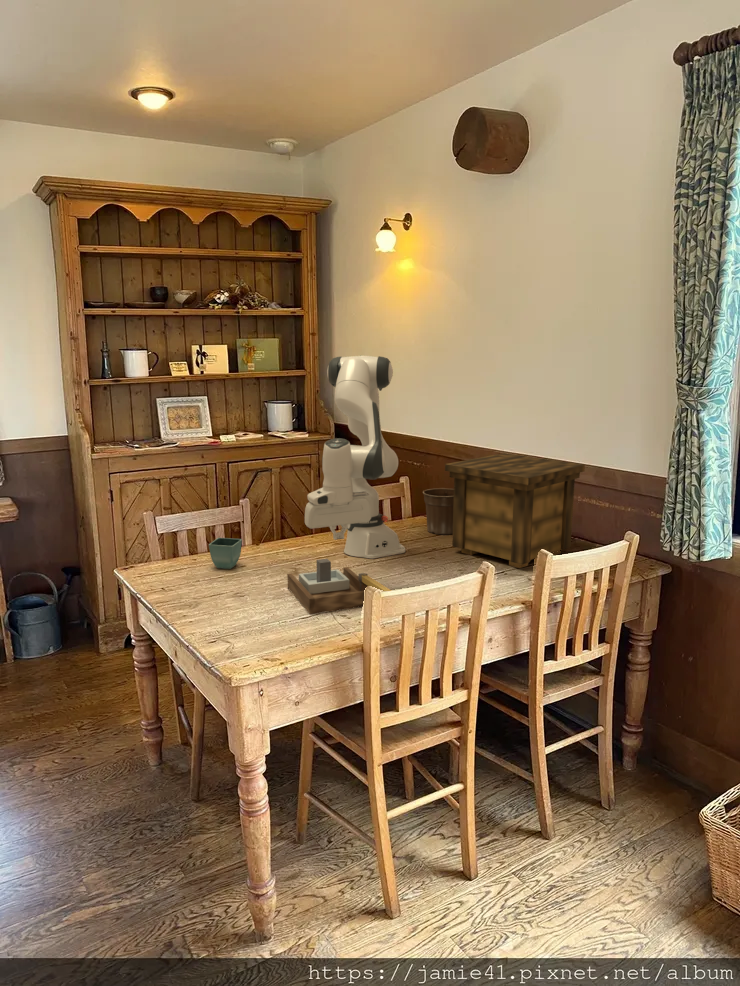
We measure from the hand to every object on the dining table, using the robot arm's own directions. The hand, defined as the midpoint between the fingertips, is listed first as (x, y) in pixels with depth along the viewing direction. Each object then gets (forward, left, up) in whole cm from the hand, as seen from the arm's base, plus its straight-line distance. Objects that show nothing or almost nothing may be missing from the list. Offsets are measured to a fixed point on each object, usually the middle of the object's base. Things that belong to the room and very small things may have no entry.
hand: (338, 538), depth 227 cm
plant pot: (-63, -56, -18) cm, 87 cm away
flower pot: (+27, -40, -18) cm, 52 cm away
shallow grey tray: (+3, -6, -17) cm, 18 cm away
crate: (-73, -20, -18) cm, 78 cm away
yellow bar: (-7, +11, -13) cm, 19 cm away
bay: (+3, 0, -18) cm, 18 cm away
